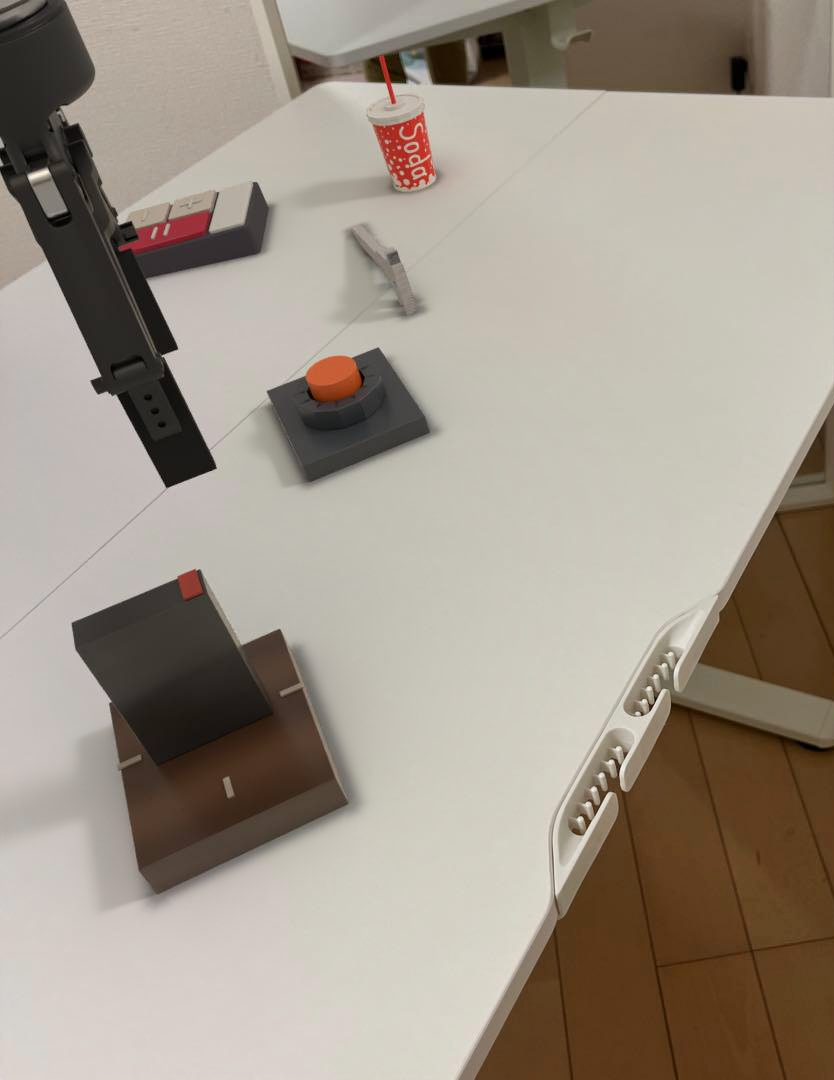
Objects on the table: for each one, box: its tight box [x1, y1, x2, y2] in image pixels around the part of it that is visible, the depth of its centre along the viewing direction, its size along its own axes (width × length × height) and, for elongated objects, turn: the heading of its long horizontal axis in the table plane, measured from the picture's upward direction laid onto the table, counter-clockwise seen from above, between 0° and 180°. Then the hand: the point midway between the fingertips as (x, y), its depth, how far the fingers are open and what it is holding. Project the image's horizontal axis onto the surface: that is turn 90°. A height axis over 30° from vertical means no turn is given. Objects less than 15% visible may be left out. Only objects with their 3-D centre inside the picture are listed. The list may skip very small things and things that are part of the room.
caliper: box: [351, 224, 418, 316], centre depth 105 cm, size 20×1×6 cm, turn 22°
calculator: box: [119, 180, 270, 279], centre depth 117 cm, size 11×4×15 cm
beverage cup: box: [365, 54, 437, 193], centre depth 115 cm, size 6×6×14 cm
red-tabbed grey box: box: [71, 568, 273, 765], centre depth 60 cm, size 7×2×10 cm, turn 114°
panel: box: [108, 628, 350, 895], centre depth 64 cm, size 13×11×3 cm
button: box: [305, 355, 362, 403], centre depth 86 cm, size 4×4×2 cm
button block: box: [266, 347, 431, 483], centre depth 88 cm, size 12×10×4 cm
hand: (172, 410), depth 62 cm, fingers open, 13 cm apart
